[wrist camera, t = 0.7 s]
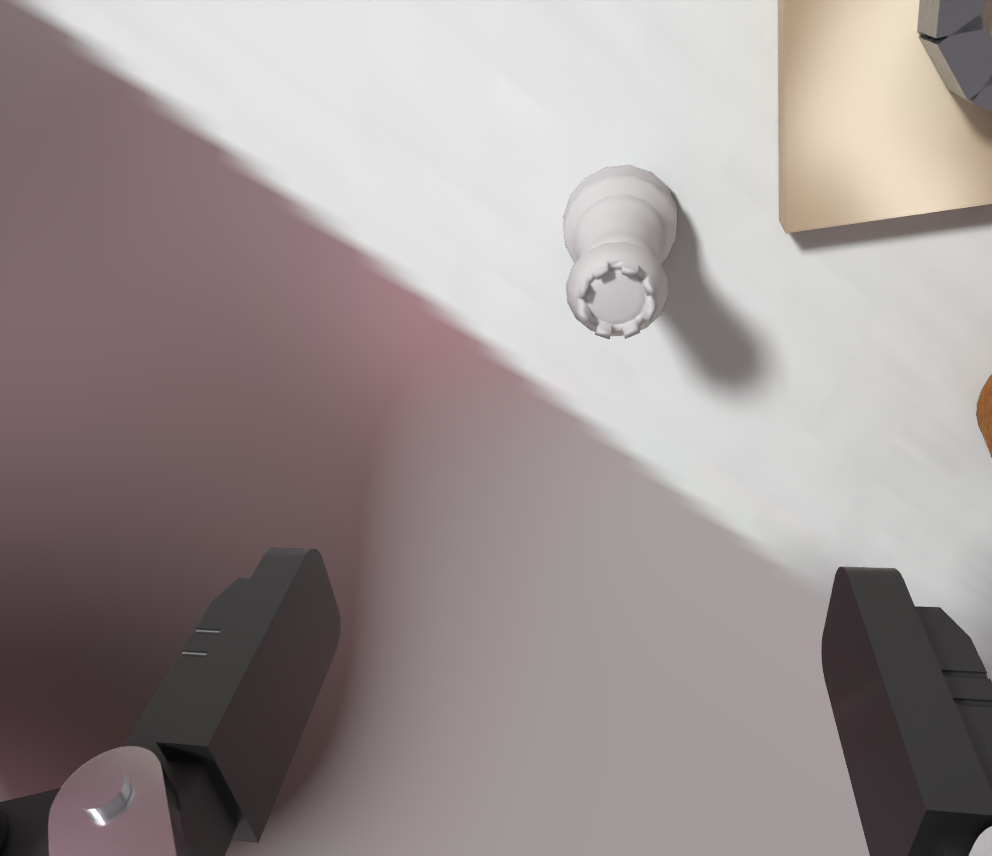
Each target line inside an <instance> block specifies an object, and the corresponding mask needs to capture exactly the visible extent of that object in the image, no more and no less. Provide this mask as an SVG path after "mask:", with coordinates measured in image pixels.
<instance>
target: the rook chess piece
mask: <svg viewBox="0 0 992 856" xmlns="http://www.w3.org/2000/svg"><path fill="white" fill-rule="evenodd" d="M563 219H564V223H563V225H564V239H565V246H566V248H567V250H568V252H569V254H570V256H571V257H572V259H573V261H574V263H575V264H574V265H573V266H572V269H571V272H570V274H569V277H568V280H567V283H566V291H567V303H568V305H569V306H570V308H571V310H572V312H573V314H574V316H575V318H576V319H577V320H578V321H580V322H581V323H582V324H583V325H585V326H586V327H587V328H588V329H590V330H591V331H595V335H598V336H601V337H604V338H607V339H610V336H622V335H624V336H625V339H626V338H628V337H631V336H633V335H636V334H638V333H640V330H642V329H644V328H646V327H648V326H649V325H650V324H651V323H652V322H653V321H654V320H655V319H656V318H657V317H658V316H659V315H660V314H661V312H662V310H663V307H664V305H665V303H666V301H667V299H668V277H667V275H666V273H665V271H664V269H663V266H662V263H663V262H664V261H665V260H666V258H667V257H668V255H669V252H670V250H671V248H672V246H673V243H674V241H675V239H676V231H677V207H676V204H675V202H674V200H673V197H672V195H671V193H670V190H669V188H668V187H667V186H666V185H665V184H664V183H663V182H662V181H660V180H659V179H658V178H657V177H656V176H655V175H654V174H653V173H652V172H649V171H646V170H643V169H640V168H637V167H634V166H631V165H625V166H614V167H605V168H604V169H602V170H600V171H598V172H596V173H594V174H592V175H590V176H588V177H586V178H585V179H584V180H583V181H582V182H581V183H580V185H579V186H578V187H577V188H576V189H575V190H574V192H573V193H572V194H571V195H570V198H569V201H568V204H567V207H566V210H565V213H564V216H563Z"/></svg>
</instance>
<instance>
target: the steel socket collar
mask: <svg viewBox="0 0 992 856" xmlns="http://www.w3.org/2000/svg"><path fill="white" fill-rule="evenodd" d="M984 8H985V0H920V1H919V13H918V25H917V31H919V32H921V33H923V34H922V35H920V36H919V37H918V38H919V39H920V41H921V43H922V45H923V47H924V48H925V50H926V52H927V54H928V56H929V57H930V59H931V61H932V63H933V65H934V66H935V68H936V70H937V72H938V74H939V75H940V77H941V79H942V81H943V82H944V84H945V86H946V88H947V89H948V90H950V91H952V92H951V93H953V94H955V95H956V96H958V97H960V98H962V99H964V100H966V101H968V102H969V103H971V104H973V105H976V106H979V107H981V108H984V109H986V110H989V111H991V112H992V37H991V36H990V34H989V32H988V30H987V28H986V26H985V24H984V22H983V16H984Z"/></svg>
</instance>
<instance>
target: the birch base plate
mask: <svg viewBox="0 0 992 856" xmlns="http://www.w3.org/2000/svg"><path fill="white" fill-rule="evenodd" d="M919 1H920V0H778V96H779V221H780V223H781V225H782V227H783V229H784V231H785V233H792V232H799V231H806V230H813V229H820V228H827V227H834V226H841V225H848V224H855V223H862V222H868V221H875V220H882V219H889V218H896V217H903V216H910V215H917V214H924V213H931V212H938V211H945V210H952V209H959V208H966V207H973V206H980V205H987V204H992V112H991V111H989V110H986V109H984V108H981V107H979V106H976V105H973V104H971V103H969V102H968V101H966V100H964V99H962V98H960V97H958V96H956V95H955V94H953V93H951V92H952V91H950V90H948V89H947V88H946V86H945V84H944V82H943V81H942V79H941V77H940V75H939V74H938V72H937V70H936V68H935V66H934V65H933V63H932V61H931V59H930V57H929V56H928V54H927V52H926V50H925V48H924V47H923V45H922V43H921V41H920V39H919V38H918V37H919V36H920V35H922V34H923V33H921V32H919V31H917V25H918V13H919ZM983 22H984V24H985V26H986V28H987V30H988V32H989V34H990V36H991V37H992V0H985V8H984V16H983Z"/></svg>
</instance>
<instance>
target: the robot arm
mask: <svg viewBox="0 0 992 856" xmlns="http://www.w3.org/2000/svg"><path fill="white" fill-rule="evenodd" d="M339 636H340V614H339V610H338V606H337V603H336V600H335V597H334V594H333V591H332V587H331V584H330V581H329V578H328V574H327V571H326V568H325V565H324V562H323V558H322V556H321V554H320V552H319V551H318V550H316V549H304V548H270V549H269V550H268V551H267V552H266V553H265V554H264V556H263V558H262V559H261V561H260V563H259V564H258V566H257V568H256V570H255V571H254V573H253V575H252V577H251V578H250V579H247V578H238V579H237V580H236V581H235V582H233V583H232V584H231V585H230V586H229V587H228V588H227V589H226V590H224V591H223V592H222V593H221V594H220V595H219V596H218V597H217V598H215V599H214V600H213V601H212V603H211V604H210V606H209V608H208V609H207V611H206V612H205V614H204V616H203V617H202V619H201V620H200V622H199V624H198V626H197V627H196V633H195V634H194V633H193V634H192V635H191V637H190V638H189V640H188V642H187V643H186V645H185V647H184V648H183V650H182V651H183V653H182V656H178V658H177V660H176V661H175V663H174V664H173V666H172V668H171V669H170V671H169V673H168V674H167V676H166V677H165V679H164V681H163V682H162V684H161V686H160V687H159V689H158V690H157V692H156V694H155V695H154V697H153V699H152V700H151V702H150V703H149V705H148V707H147V709H146V710H145V711H144V713H143V715H142V716H141V718H140V720H139V721H138V723H137V725H136V726H135V728H134V729H133V731H132V733H131V734H130V736H129V737H128V739H127V740H126V742H125V743H124V745H123V746H122V747H120V748H116V749H113V750H110V751H107V752H105V753H102V754H100V755H98V756H96V757H95V758H93V759H91V760H90V761H88V762H87V763H85V764H84V765H83V766H81V767H80V768H79V769H78V770H77V771H75V772H74V774H73V775H72V776H71V777H70V778H69V779H68V780H67V781H66V782H65V784H64V785H63V786H62V787H61V788H58V789H54V790H50V791H46V792H41V793H38V794H33V795H29V796H25V797H20V798H16V799H12V800H8V801H3V802H0V856H225V853H226V851H227V849H228V846H229V844H230V842H231V840H239V841H247V842H257V843H258V842H259V840H260V838H261V835H262V833H263V830H264V828H265V825H266V823H267V820H268V818H269V815H270V813H271V810H272V808H273V806H274V803H275V800H276V798H277V795H278V793H279V791H280V788H281V786H282V783H283V781H284V778H285V776H286V773H287V771H288V768H289V766H290V763H291V761H292V758H293V756H294V754H295V751H296V748H297V746H298V743H299V741H300V739H301V736H302V734H303V731H304V729H305V726H306V724H307V721H308V719H309V716H310V714H311V711H312V709H313V706H314V704H315V701H316V699H317V697H318V694H319V692H320V689H321V686H322V684H323V682H324V679H325V677H326V674H327V672H328V669H329V667H330V664H331V662H332V659H333V657H334V654H335V652H336V649H337V646H338V642H339ZM822 666H823V673H824V678H825V682H826V686H827V690H828V694H829V698H830V702H831V706H832V710H833V714H834V718H835V722H836V725H837V729H838V733H839V737H840V741H841V745H842V749H843V753H844V757H845V761H846V765H847V768H848V772H849V775H850V780H851V784H852V788H853V792H854V796H855V799H856V804H857V807H858V811H859V815H860V819H861V823H862V827H863V831H864V835H865V839H866V842H867V846H868V850H869V854H870V856H992V682H991V680H990V679H988V678H987V671H986V669H985V667H984V665H983V663H982V661H981V659H980V657H979V655H978V653H977V650H976V648H975V646H974V644H973V642H972V640H971V638H970V637H969V636H968V635H967V634H966V633H965V632H964V631H963V630H962V629H961V628H960V627H959V626H958V625H957V624H956V623H955V622H954V621H953V620H952V619H951V618H950V617H949V616H948V615H947V614H946V613H945V612H944V611H943V610H942V609H941V608H940V607H916V606H914V604H913V601H912V599H911V596H910V594H909V592H908V589H907V587H906V584H905V582H904V579H903V577H902V575H901V574H900V572H899V571H898V570H897V569H895V568H865V567H839V568H838V570H837V572H836V575H835V579H834V584H833V589H832V593H831V598H830V603H829V607H828V612H827V617H826V622H825V627H824V631H823V637H822Z"/></svg>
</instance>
